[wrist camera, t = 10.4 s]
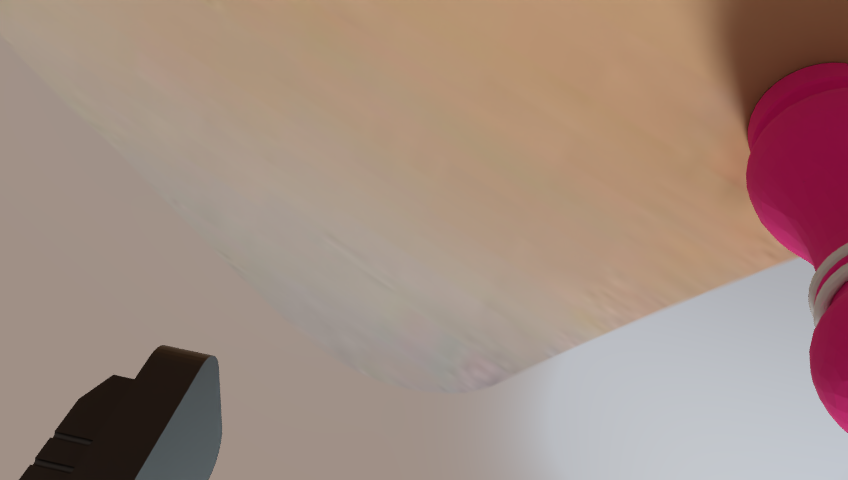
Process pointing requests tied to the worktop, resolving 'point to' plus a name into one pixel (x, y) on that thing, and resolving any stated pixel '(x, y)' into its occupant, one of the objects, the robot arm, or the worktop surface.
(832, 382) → the pepper mill
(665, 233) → the worktop surface
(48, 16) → the worktop surface
